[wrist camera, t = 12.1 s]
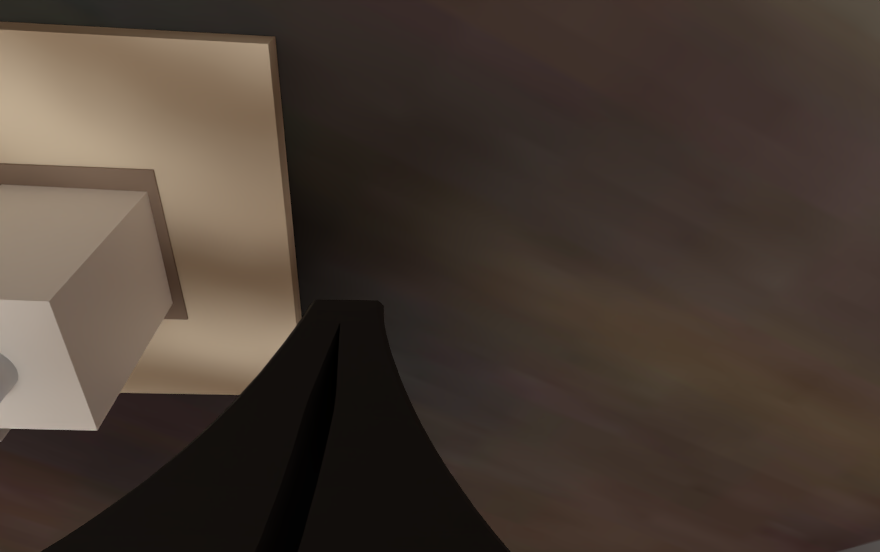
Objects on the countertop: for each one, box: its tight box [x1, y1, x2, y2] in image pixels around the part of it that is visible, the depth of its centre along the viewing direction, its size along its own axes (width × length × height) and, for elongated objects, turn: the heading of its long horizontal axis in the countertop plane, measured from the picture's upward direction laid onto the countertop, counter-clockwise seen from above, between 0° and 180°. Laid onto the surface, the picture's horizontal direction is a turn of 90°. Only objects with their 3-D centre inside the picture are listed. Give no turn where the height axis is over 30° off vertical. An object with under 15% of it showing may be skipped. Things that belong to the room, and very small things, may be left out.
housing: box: [0, 184, 173, 431], centre depth 17 cm, size 4×4×7 cm
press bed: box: [0, 22, 302, 442], centre depth 19 cm, size 14×16×4 cm
